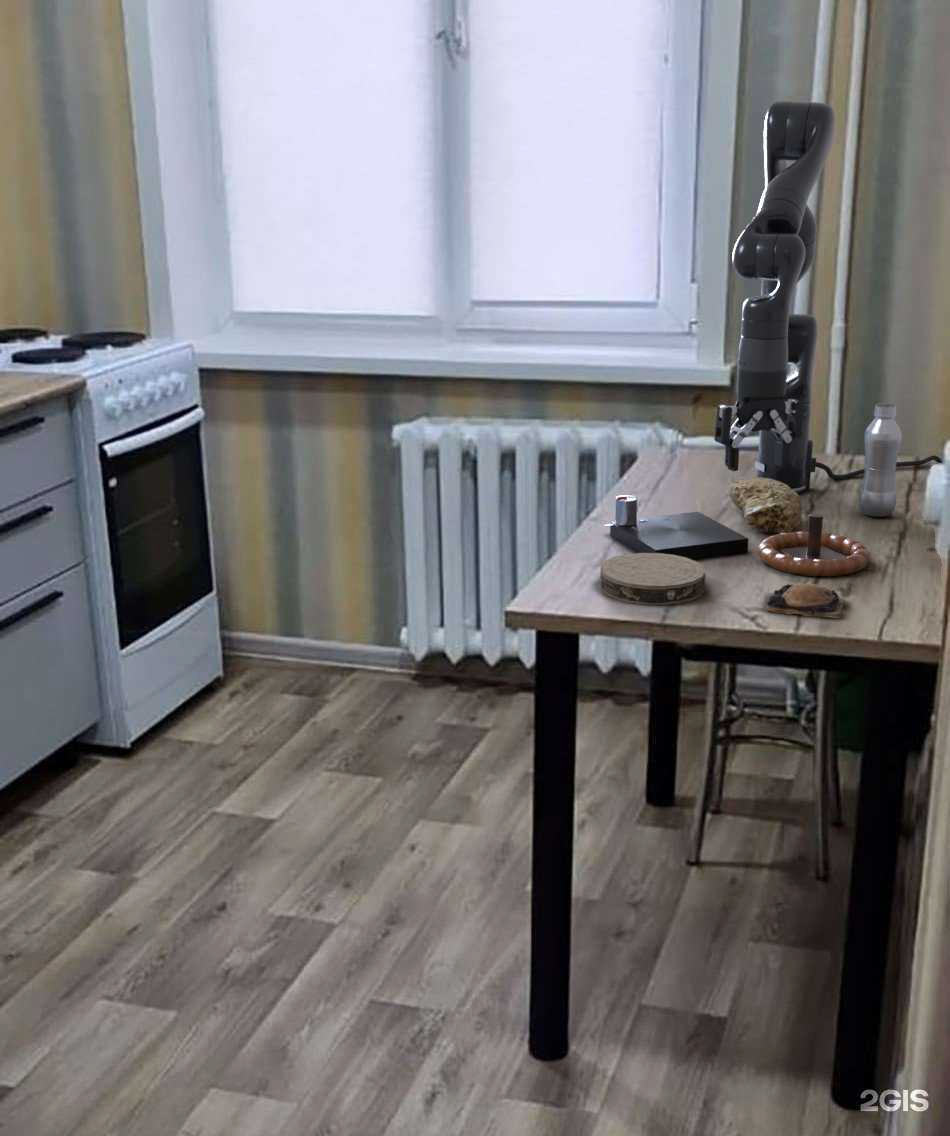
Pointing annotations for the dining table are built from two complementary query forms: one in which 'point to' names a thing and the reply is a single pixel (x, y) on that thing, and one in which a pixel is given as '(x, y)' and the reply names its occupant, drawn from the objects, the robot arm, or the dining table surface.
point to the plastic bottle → (880, 462)
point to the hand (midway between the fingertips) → (756, 467)
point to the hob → (681, 536)
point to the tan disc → (652, 578)
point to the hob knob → (626, 510)
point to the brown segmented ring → (809, 566)
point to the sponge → (767, 504)
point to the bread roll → (806, 601)
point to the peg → (813, 543)
